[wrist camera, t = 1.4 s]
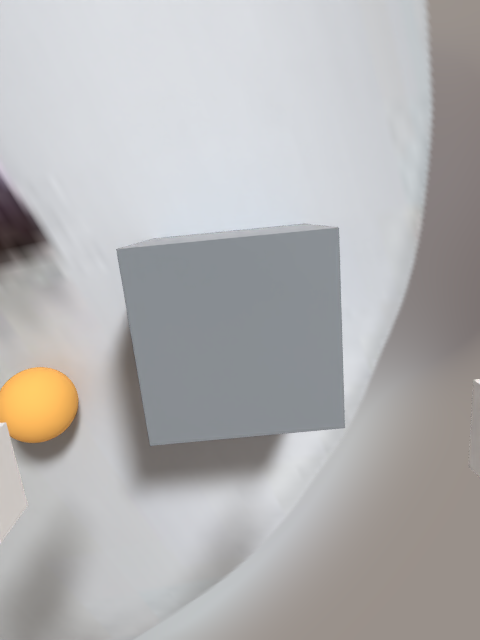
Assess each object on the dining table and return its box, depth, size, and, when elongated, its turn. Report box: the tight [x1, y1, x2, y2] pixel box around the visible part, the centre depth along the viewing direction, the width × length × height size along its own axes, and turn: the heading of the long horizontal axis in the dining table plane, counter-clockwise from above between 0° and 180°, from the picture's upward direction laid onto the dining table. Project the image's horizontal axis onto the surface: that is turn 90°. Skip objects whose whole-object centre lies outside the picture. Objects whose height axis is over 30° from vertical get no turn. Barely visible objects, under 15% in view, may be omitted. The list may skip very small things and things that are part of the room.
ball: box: [0, 367, 78, 443], centre depth 27 cm, size 5×5×5 cm
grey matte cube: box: [116, 224, 345, 446], centre depth 24 cm, size 10×10×9 cm
